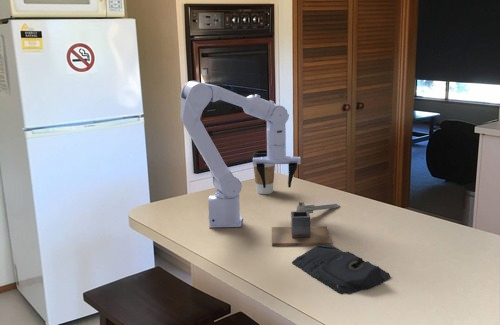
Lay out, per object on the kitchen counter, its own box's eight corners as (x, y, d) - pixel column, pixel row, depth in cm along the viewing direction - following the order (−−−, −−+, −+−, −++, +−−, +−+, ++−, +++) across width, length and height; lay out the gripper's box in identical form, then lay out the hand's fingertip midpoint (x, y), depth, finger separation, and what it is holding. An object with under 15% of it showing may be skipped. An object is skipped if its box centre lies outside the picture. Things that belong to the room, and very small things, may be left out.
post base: (272, 248, 142) (271, 231, 141) (271, 231, 154) (271, 215, 152) (331, 247, 141) (331, 230, 140) (326, 231, 153) (326, 214, 152)
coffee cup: (251, 195, 186) (250, 153, 182) (255, 188, 194) (254, 148, 190) (274, 195, 184) (274, 154, 181) (277, 188, 193) (277, 148, 189)
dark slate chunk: (334, 249, 139) (334, 233, 138) (396, 281, 121) (397, 262, 120) (286, 264, 132) (286, 246, 131) (345, 300, 114) (346, 280, 112)
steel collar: (292, 238, 145) (291, 217, 143) (291, 231, 149) (290, 211, 148) (310, 237, 144) (310, 217, 143) (308, 231, 149) (308, 211, 148)
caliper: (298, 223, 158) (298, 203, 157) (296, 222, 159) (296, 202, 158) (339, 206, 172) (339, 188, 171) (336, 206, 173) (337, 187, 171)
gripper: (252, 147, 156) (253, 191, 159) (301, 146, 155) (301, 190, 158) (252, 142, 162) (253, 184, 166) (299, 141, 162) (299, 183, 165)
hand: (276, 186), depth 163 cm, fingers open, 7 cm apart
